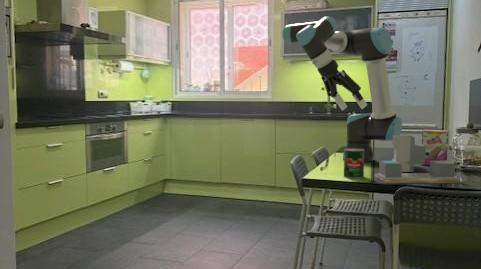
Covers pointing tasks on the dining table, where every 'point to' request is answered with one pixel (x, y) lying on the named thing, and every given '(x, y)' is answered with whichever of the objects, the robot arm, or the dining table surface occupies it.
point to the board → (422, 181)
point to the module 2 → (442, 168)
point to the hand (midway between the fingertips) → (354, 107)
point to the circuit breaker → (408, 152)
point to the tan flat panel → (415, 176)
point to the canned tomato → (353, 163)
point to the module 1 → (390, 168)
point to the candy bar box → (436, 145)
